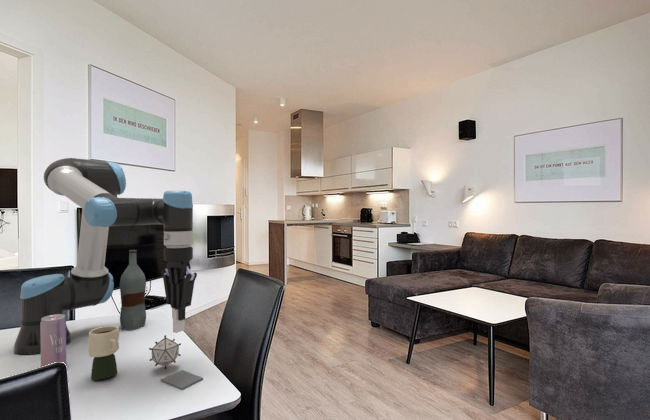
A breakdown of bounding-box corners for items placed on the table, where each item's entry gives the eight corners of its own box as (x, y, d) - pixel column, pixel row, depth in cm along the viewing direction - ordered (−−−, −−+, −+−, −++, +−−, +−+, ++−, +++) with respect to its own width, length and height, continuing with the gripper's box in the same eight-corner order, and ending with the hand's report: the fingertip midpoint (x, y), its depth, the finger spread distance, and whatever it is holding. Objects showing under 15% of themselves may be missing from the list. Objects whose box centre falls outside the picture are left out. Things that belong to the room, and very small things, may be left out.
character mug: (128, 376, 100) (128, 329, 100) (102, 387, 94) (101, 337, 94) (106, 367, 106) (106, 323, 106) (80, 377, 99) (79, 330, 99)
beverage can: (62, 362, 109) (62, 312, 109) (69, 367, 106) (68, 316, 105) (38, 369, 105) (37, 317, 105) (44, 375, 101) (43, 321, 101)
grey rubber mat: (160, 381, 97) (160, 379, 97) (182, 372, 103) (182, 369, 103) (181, 390, 92) (181, 388, 92) (203, 380, 98) (203, 377, 98)
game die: (169, 377, 99) (168, 341, 99) (141, 375, 101) (141, 339, 101) (187, 363, 108) (187, 330, 108) (162, 361, 110) (161, 328, 110)
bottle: (124, 323, 146) (124, 249, 146) (149, 322, 148) (148, 248, 147) (115, 331, 137) (115, 252, 136) (142, 330, 138) (141, 251, 138)
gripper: (151, 246, 101) (152, 330, 101) (181, 248, 94) (181, 339, 94) (175, 244, 107) (176, 323, 108) (205, 246, 100) (205, 331, 101)
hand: (178, 331), depth 101 cm, fingers closed
